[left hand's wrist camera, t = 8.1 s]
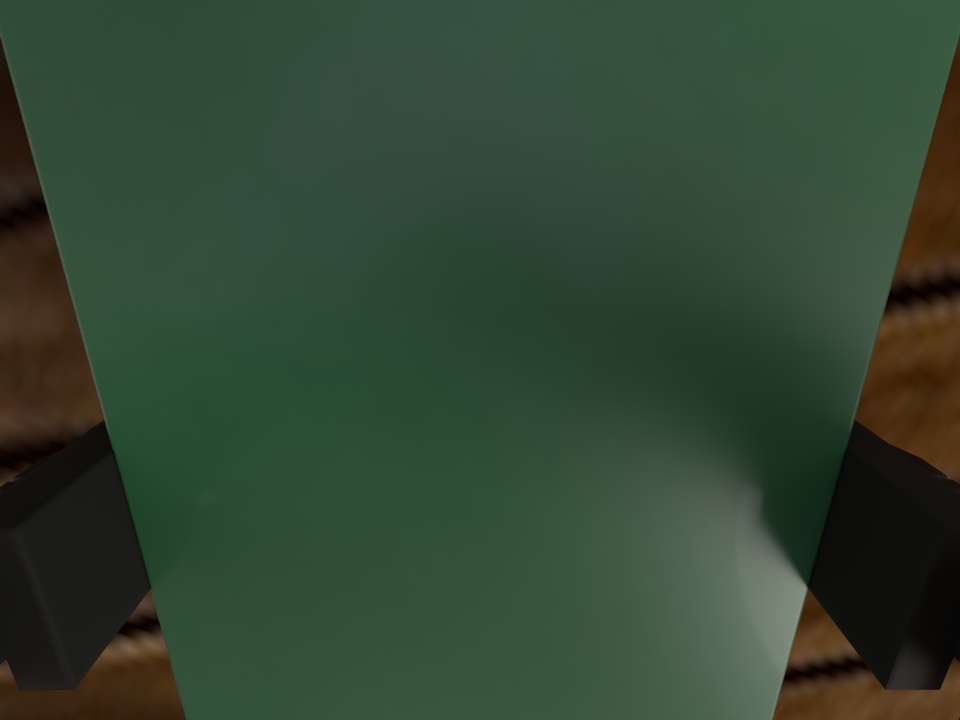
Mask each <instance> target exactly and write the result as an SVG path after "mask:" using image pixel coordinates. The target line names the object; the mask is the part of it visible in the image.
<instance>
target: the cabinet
mask: <svg viewBox="0 0 960 720" xmlns="http://www.w3.org/2000/svg"><path fill="white" fill-rule="evenodd" d="M959 35H960V0H0V38H1V41H2V45H3V49H4V52H5V56H6V60H7V63H8V67H9V71H10V74H11V78H12V82H13V85H14V89H15V93H16V96H17V100H18V104H19V107H20V111H21V115H22V119H23V122H24V126H25V130H26V133H27V137H28V141H29V144H30V148H31V152H32V155H33V159H34V163H35V166H36V170H37V174H38V177H39V181H40V185H41V188H42V192H43V196H44V199H45V203H46V207H47V210H48V214H49V218H50V221H51V225H52V229H53V232H54V236H55V240H56V243H57V247H58V251H59V254H60V258H61V262H62V265H63V269H64V273H65V277H66V280H67V284H68V288H69V291H70V295H71V299H72V302H73V306H74V310H75V313H76V317H77V321H78V324H79V328H80V332H81V335H82V339H83V343H84V346H85V350H86V354H87V357H88V361H89V365H90V368H91V372H92V376H93V379H94V383H95V387H96V390H97V394H98V398H99V401H100V405H101V409H102V412H103V416H104V420H105V423H106V427H107V431H108V435H109V438H110V442H111V446H112V449H113V453H114V457H115V460H116V464H117V468H118V471H119V475H120V479H121V482H122V486H123V490H124V493H125V497H126V501H127V504H128V508H129V512H130V515H131V519H132V523H133V526H134V530H135V534H136V537H137V541H138V545H139V548H140V552H141V556H142V559H143V563H144V567H145V570H146V574H147V578H148V581H149V585H150V589H151V593H152V596H153V600H154V604H155V607H156V611H157V615H158V618H159V622H160V626H161V629H162V633H163V637H164V640H165V644H166V648H167V651H168V655H169V659H170V662H171V666H172V670H173V673H174V677H175V681H176V684H177V688H178V692H179V695H180V699H181V703H182V706H183V710H184V714H185V717H186V720H772V719H773V715H774V712H775V708H776V704H777V701H778V697H779V693H780V690H781V686H782V682H783V679H784V675H785V671H786V668H787V664H788V660H789V657H790V653H791V649H792V646H793V642H794V638H795V635H796V631H797V627H798V624H799V620H800V617H801V613H802V609H803V606H804V602H805V598H806V595H807V591H808V587H809V584H810V580H811V576H812V573H813V569H814V565H815V562H816V558H817V554H818V551H819V547H820V543H821V540H822V536H823V532H824V529H825V525H826V521H827V518H828V514H829V510H830V507H831V503H832V500H833V496H834V492H835V489H836V485H837V481H838V478H839V474H840V470H841V467H842V463H843V459H844V456H845V452H846V448H847V445H848V441H849V437H850V434H851V430H852V426H853V423H854V419H855V415H856V412H857V408H858V404H859V401H860V397H861V394H862V390H863V386H864V383H865V379H866V375H867V372H868V368H869V364H870V361H871V357H872V353H873V350H874V346H875V342H876V339H877V335H878V331H879V328H880V324H881V320H882V317H883V313H884V309H885V306H886V302H887V298H888V295H889V291H890V288H891V284H892V280H893V277H894V273H895V269H896V266H897V262H898V258H899V255H900V251H901V247H902V244H903V240H904V236H905V233H906V229H907V225H908V222H909V218H910V214H911V211H912V207H913V203H914V200H915V196H916V192H917V189H918V185H919V181H920V178H921V174H922V171H923V167H924V163H925V160H926V156H927V152H928V149H929V145H930V141H931V138H932V134H933V130H934V127H935V123H936V119H937V116H938V112H939V108H940V105H941V101H942V97H943V94H944V90H945V86H946V83H947V79H948V75H949V72H950V68H951V65H952V61H953V57H954V54H955V50H956V46H957V43H958V39H959Z"/></svg>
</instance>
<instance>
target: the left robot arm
mask: <svg viewBox="0 0 960 720" xmlns="http://www.w3.org/2000/svg"><path fill="white" fill-rule="evenodd" d="M808 588H809V590H810V591H811V592H812V594H813V595H814V596H815V598H816V599H817V600H818V601H819V603H820V604H821V605H822V607H823V608H824V609H825V611H826V612H827V613H828V615H829V616H830V617H831V619H832V620H833V621H834V623H835V624H836V625H837V627H838V628H839V629H840V630H841V632H842V633H843V634H844V636H845V637H846V638H847V640H848V641H849V642H850V644H851V645H852V646H853V648H854V649H855V650H856V652H857V653H858V654H859V656H860V657H861V658H862V660H863V661H864V662H865V663H866V665H867V666H868V667H869V669H870V670H871V671H872V673H873V674H874V675H875V677H876V678H877V679H878V681H879V682H880V683H881V685H882V686H883V687H884V689H885V690H940V688H941V686H942V683H943V681H944V678H945V676H946V674H947V671H948V669H949V667H950V664H951V662H952V659H953V657H954V656H955V657H956V659H957V660H958V661H959V662H960V485H959V484H958V483H956V482H955V481H953V480H948V479H947V476H946V475H945V474H943V473H942V472H940V471H939V470H937V469H936V468H935V467H933V466H932V465H930V464H929V463H927V462H926V461H924V460H923V459H921V458H919V457H917V456H915V455H913V454H910V453H908V452H906V451H904V450H901V449H899V448H897V447H895V446H893V445H890V444H888V443H887V442H885V441H884V440H883V439H881V438H880V437H878V436H877V435H876V434H874V433H873V432H871V431H870V430H868V429H867V428H866V427H864V426H863V425H861V424H860V423H859V422H857V421H856V420H854V423H853V426H852V430H851V434H850V437H849V441H848V445H847V448H846V452H845V456H844V459H843V463H842V467H841V470H840V474H839V478H838V481H837V485H836V489H835V492H834V496H833V500H832V503H831V507H830V510H829V514H828V518H827V521H826V525H825V529H824V532H823V536H822V540H821V543H820V547H819V551H818V554H817V558H816V562H815V565H814V569H813V573H812V576H811V580H810V584H809V587H808ZM149 590H150V585H149V581H148V578H147V574H146V570H145V567H144V563H143V559H142V556H141V552H140V548H139V545H138V541H137V537H136V534H135V530H134V526H133V523H132V519H131V515H130V512H129V508H128V504H127V501H126V497H125V493H124V490H123V486H122V482H121V479H120V475H119V471H118V468H117V464H116V460H115V457H114V453H113V449H112V446H111V442H110V438H109V435H108V431H107V427H106V423H105V420H104V421H102V422H101V423H99V424H98V425H97V426H95V427H94V428H92V429H91V430H89V431H88V432H87V433H85V434H84V435H82V436H81V437H80V438H78V439H77V440H75V441H74V442H72V443H71V444H70V445H68V446H67V447H65V448H64V449H63V450H61V451H59V452H56V453H54V454H52V455H50V456H48V457H45V458H43V459H41V460H39V461H37V462H36V463H34V464H33V465H31V466H30V467H28V468H27V469H26V470H24V471H23V472H21V473H20V474H18V475H17V476H16V477H14V478H13V481H12V482H7V483H5V484H4V485H3V486H1V487H0V664H1V663H2V662H3V661H4V660H5V659H7V662H8V664H9V666H10V669H11V671H12V673H13V676H14V678H15V681H16V683H17V685H18V688H19V690H74V689H75V688H76V686H77V685H78V684H79V682H80V681H81V680H82V678H83V677H84V676H85V674H86V673H87V672H88V671H89V669H90V668H91V667H92V665H93V664H94V663H95V661H96V660H97V659H98V657H99V656H100V655H101V653H102V652H103V651H104V649H105V648H106V647H107V645H108V644H109V643H110V642H111V640H112V639H113V638H114V636H115V635H116V634H117V632H118V631H119V630H120V628H121V627H122V626H123V624H124V623H125V622H126V620H127V619H128V618H129V616H130V615H131V614H132V612H133V611H134V610H135V609H136V607H137V606H138V605H139V603H140V602H141V601H142V599H143V598H144V597H145V595H146V594H147V593H148V591H149ZM959 720H960V718H959Z"/></svg>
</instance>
